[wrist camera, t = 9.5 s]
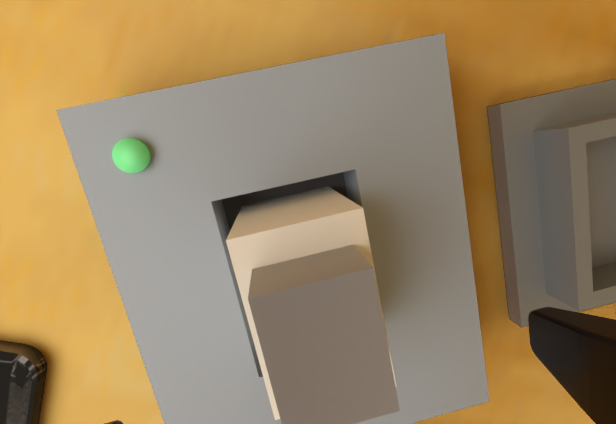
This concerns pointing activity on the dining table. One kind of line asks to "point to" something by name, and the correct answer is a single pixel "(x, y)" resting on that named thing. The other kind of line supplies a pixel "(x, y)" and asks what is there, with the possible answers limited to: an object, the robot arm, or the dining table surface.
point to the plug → (314, 308)
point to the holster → (557, 198)
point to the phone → (21, 383)
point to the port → (278, 183)
